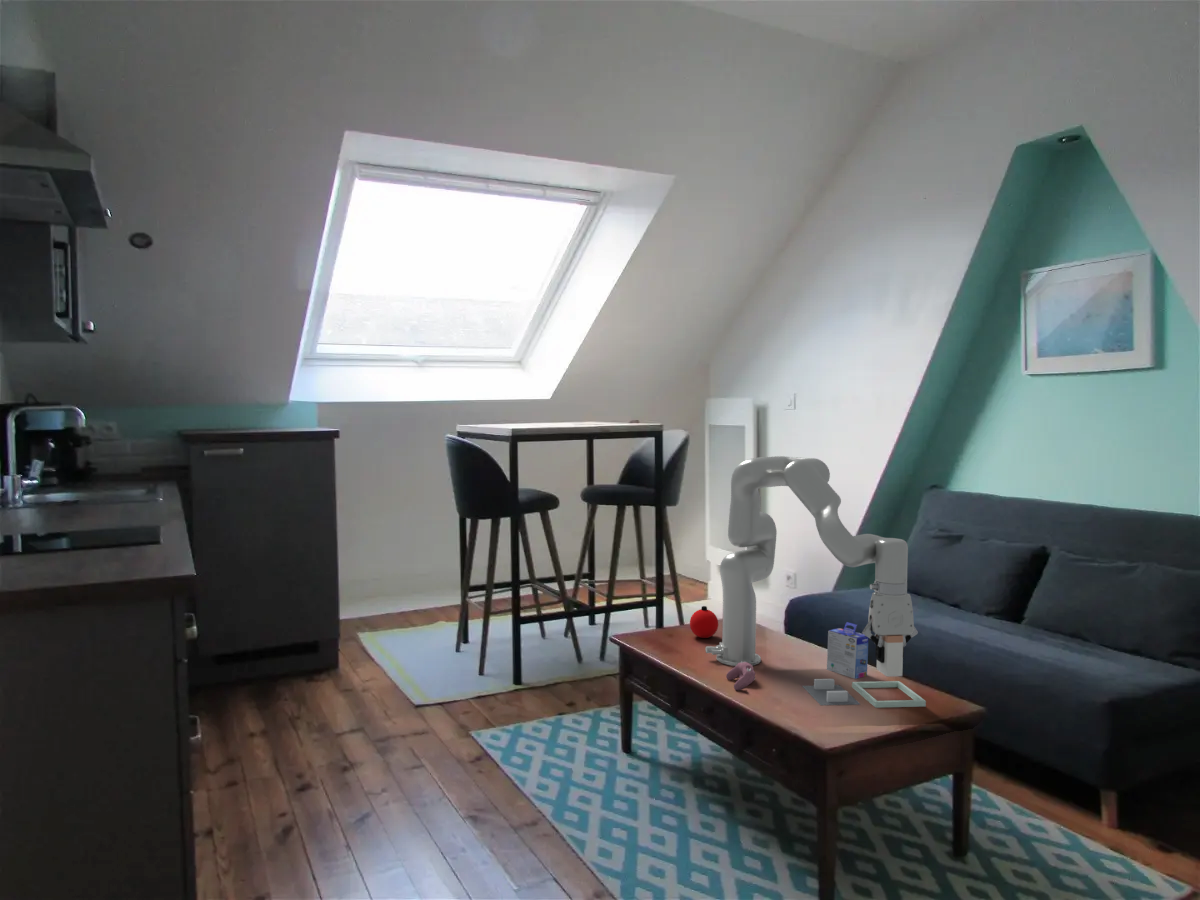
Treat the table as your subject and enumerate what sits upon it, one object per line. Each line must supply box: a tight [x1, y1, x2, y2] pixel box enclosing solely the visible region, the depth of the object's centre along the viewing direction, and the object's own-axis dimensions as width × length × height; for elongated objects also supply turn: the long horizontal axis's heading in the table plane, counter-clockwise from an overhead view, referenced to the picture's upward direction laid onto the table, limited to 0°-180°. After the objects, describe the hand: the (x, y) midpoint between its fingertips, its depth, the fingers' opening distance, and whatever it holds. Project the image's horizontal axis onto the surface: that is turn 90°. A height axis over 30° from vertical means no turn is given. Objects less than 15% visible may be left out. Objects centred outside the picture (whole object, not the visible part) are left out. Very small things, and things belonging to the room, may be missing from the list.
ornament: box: [689, 605, 719, 639], centre depth 266 cm, size 9×9×10 cm
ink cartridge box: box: [826, 621, 869, 680], centre depth 229 cm, size 10×6×14 cm, turn 36°
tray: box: [851, 680, 927, 708], centre depth 211 cm, size 13×15×2 cm
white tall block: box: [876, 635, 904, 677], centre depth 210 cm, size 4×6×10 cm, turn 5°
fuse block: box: [801, 678, 861, 706], centre depth 211 cm, size 10×14×4 cm
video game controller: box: [725, 661, 756, 692], centre depth 222 cm, size 10×5×7 cm, turn 5°
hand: (889, 660), depth 210 cm, fingers closed on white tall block, 4 cm apart
